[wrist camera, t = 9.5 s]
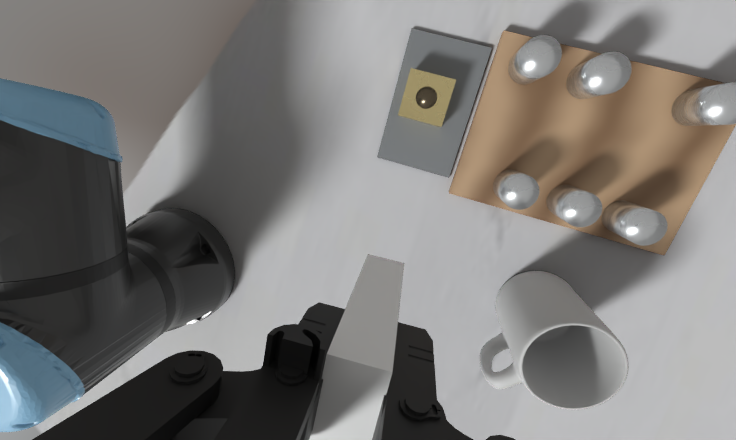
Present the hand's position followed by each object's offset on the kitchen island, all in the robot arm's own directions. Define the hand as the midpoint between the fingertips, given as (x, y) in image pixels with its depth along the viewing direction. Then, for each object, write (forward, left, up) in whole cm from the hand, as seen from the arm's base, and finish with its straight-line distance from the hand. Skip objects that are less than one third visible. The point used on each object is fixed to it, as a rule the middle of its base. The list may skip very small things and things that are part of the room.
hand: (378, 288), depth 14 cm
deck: (+15, +9, -25) cm, 31 cm away
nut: (-1, +10, -25) cm, 27 cm away
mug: (+16, -10, -26) cm, 32 cm away
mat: (-1, +9, -25) cm, 27 cm away
